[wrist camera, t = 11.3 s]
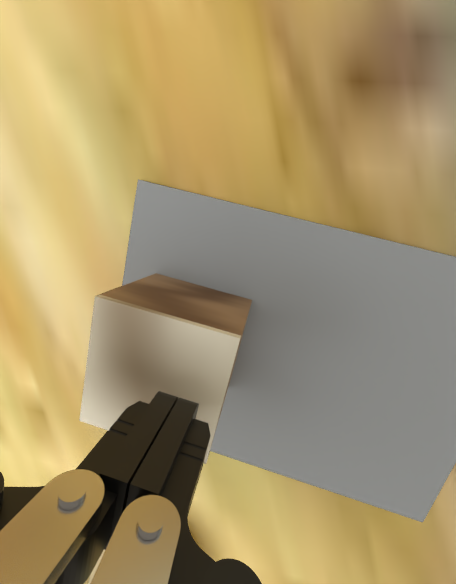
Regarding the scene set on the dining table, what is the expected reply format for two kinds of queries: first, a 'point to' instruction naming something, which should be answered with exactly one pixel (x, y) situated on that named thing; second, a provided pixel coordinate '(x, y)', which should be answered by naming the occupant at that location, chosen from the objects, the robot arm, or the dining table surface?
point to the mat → (320, 344)
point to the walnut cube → (161, 348)
